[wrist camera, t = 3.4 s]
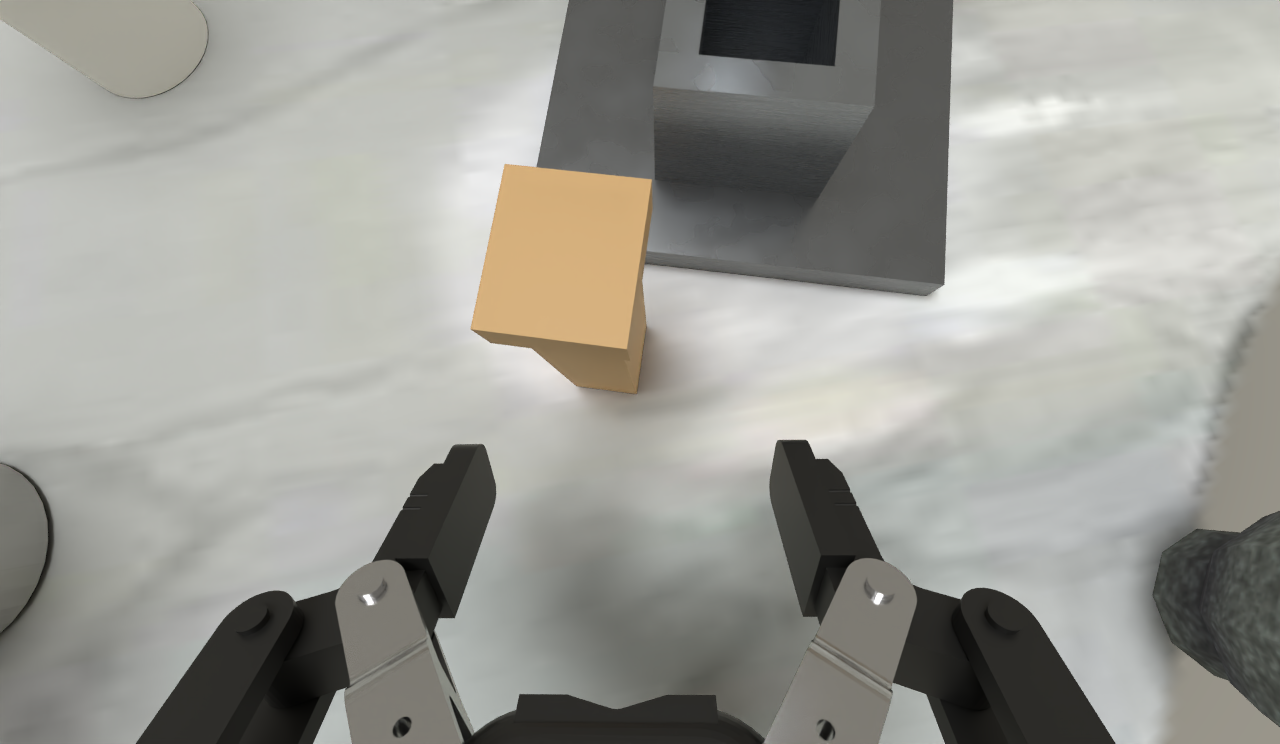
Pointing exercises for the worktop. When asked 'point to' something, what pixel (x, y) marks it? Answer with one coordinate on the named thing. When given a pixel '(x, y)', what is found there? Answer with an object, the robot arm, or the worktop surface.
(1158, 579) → the mortar and pestle
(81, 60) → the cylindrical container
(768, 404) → the worktop surface
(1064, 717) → the robot arm
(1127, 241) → the worktop surface
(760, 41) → the grey fixture with cylinder
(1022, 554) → the worktop surface
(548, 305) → the orange square peg
